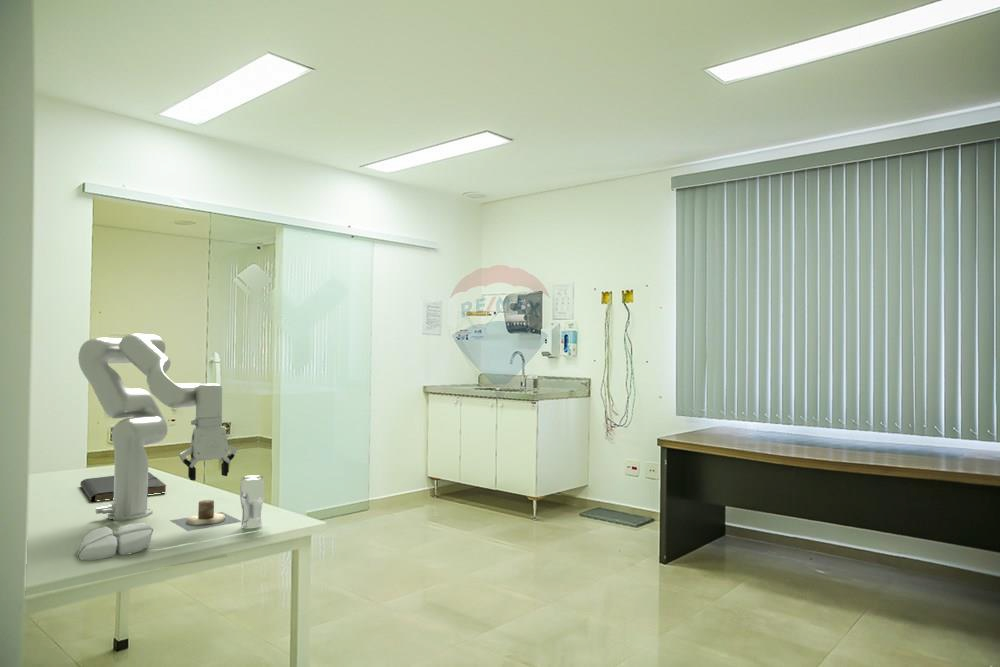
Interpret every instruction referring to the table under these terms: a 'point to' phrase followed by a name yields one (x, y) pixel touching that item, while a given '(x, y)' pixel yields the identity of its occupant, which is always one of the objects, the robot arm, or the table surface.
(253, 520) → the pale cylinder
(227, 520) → the mat
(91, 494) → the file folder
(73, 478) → the table surface
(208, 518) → the lid
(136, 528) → the lung model
